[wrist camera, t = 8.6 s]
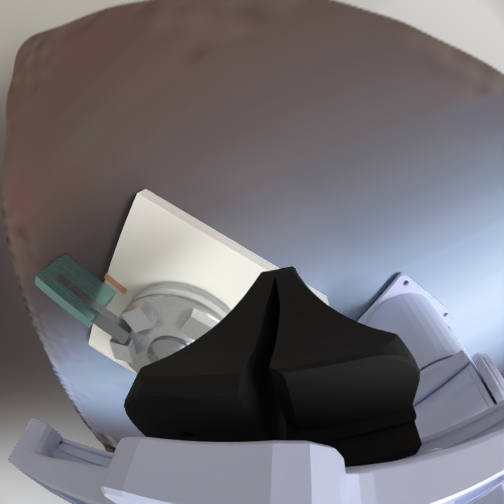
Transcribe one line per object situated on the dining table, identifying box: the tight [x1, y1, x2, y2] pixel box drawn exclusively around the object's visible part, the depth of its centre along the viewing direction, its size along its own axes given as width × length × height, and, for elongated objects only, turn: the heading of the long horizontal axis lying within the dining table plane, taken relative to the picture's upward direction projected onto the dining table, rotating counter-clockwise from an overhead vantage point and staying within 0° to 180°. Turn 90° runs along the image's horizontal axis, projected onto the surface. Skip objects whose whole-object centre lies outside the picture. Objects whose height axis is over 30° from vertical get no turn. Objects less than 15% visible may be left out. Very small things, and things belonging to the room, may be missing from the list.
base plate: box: [89, 189, 329, 374], centre depth 25 cm, size 17×19×2 cm
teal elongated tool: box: [35, 253, 231, 374], centre depth 21 cm, size 18×11×5 cm, turn 55°
